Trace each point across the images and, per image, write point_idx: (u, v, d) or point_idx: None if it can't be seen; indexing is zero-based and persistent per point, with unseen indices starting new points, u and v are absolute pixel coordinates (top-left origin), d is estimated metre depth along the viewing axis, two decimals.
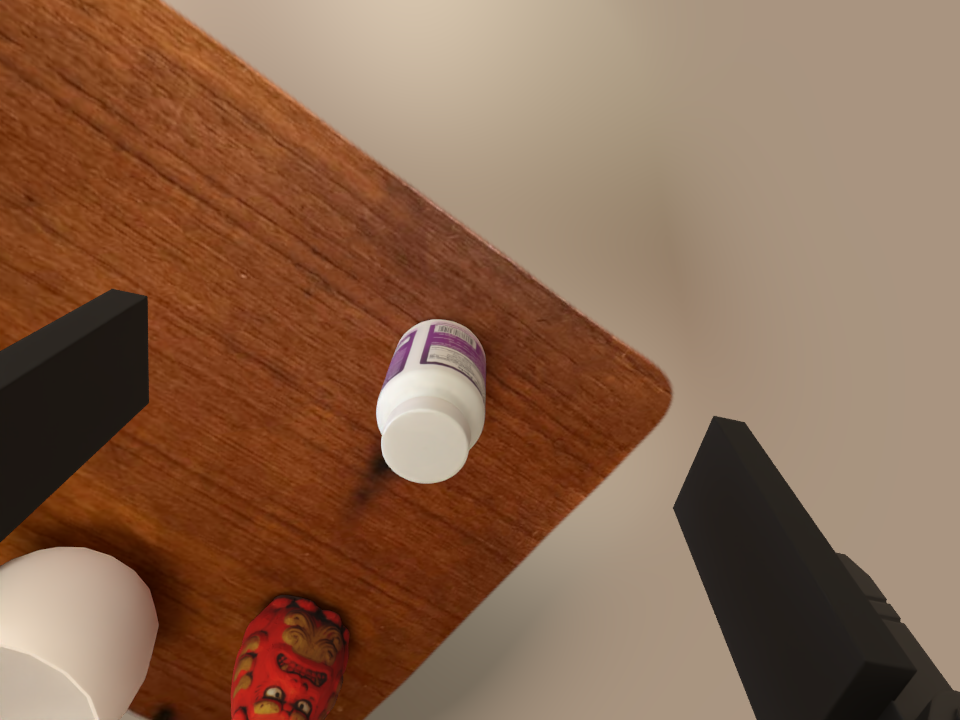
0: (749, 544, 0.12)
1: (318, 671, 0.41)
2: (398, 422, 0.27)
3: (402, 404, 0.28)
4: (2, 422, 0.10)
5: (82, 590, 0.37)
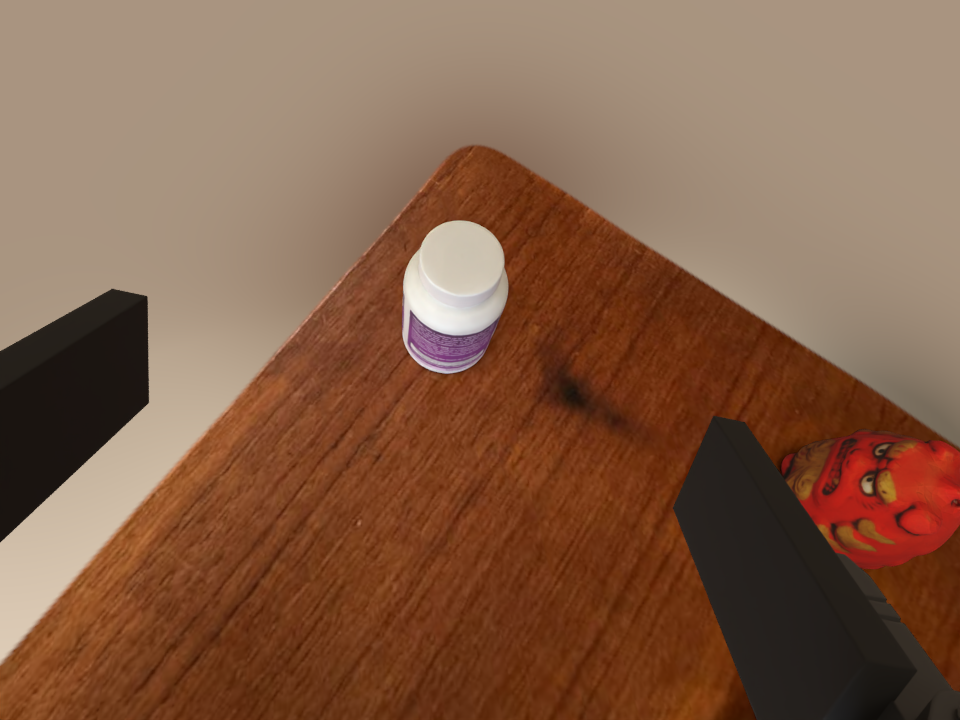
0: (749, 544, 0.12)
1: (840, 446, 0.33)
2: (434, 278, 0.28)
3: (424, 285, 0.29)
4: (2, 422, 0.10)
5: None
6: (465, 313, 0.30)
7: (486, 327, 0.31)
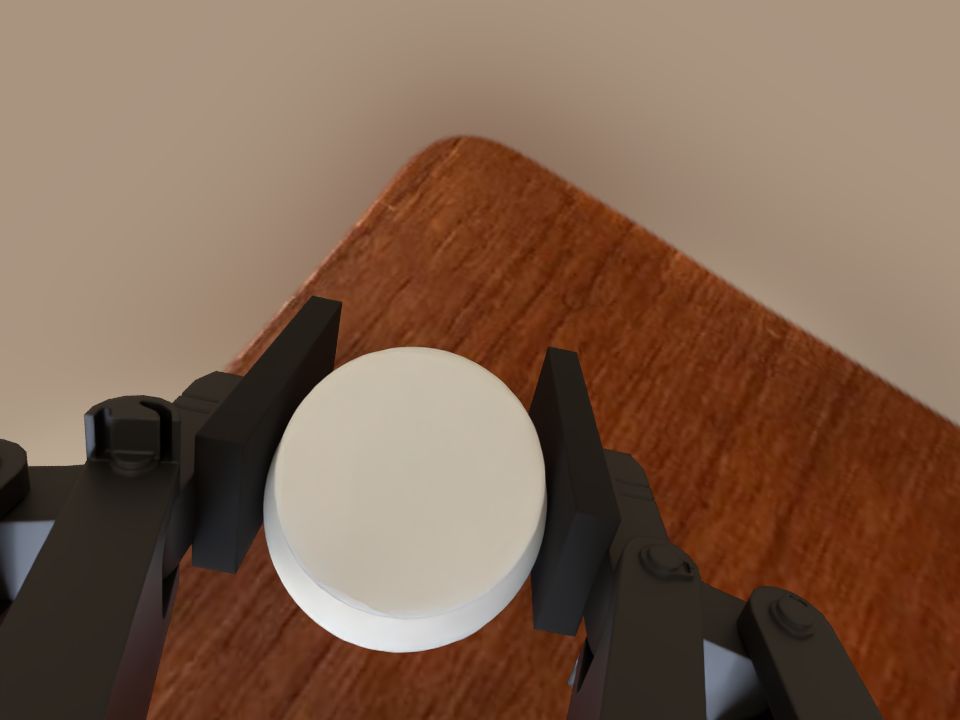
0: (547, 446, 0.13)
1: None
2: (315, 557, 0.08)
3: None
4: (284, 407, 0.12)
5: None
6: None
7: (490, 619, 0.11)
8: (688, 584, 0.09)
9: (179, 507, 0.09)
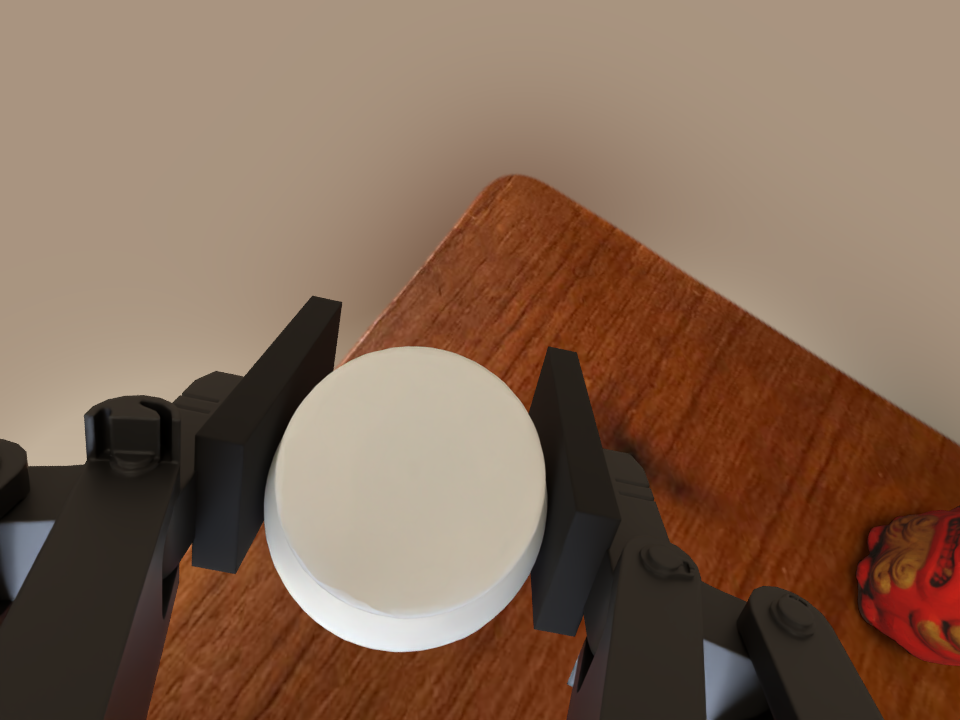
0: (547, 446, 0.13)
1: (947, 528, 0.29)
2: (316, 556, 0.08)
3: None
4: (284, 407, 0.12)
5: None
6: None
7: (490, 619, 0.11)
8: (688, 584, 0.09)
9: (179, 507, 0.09)
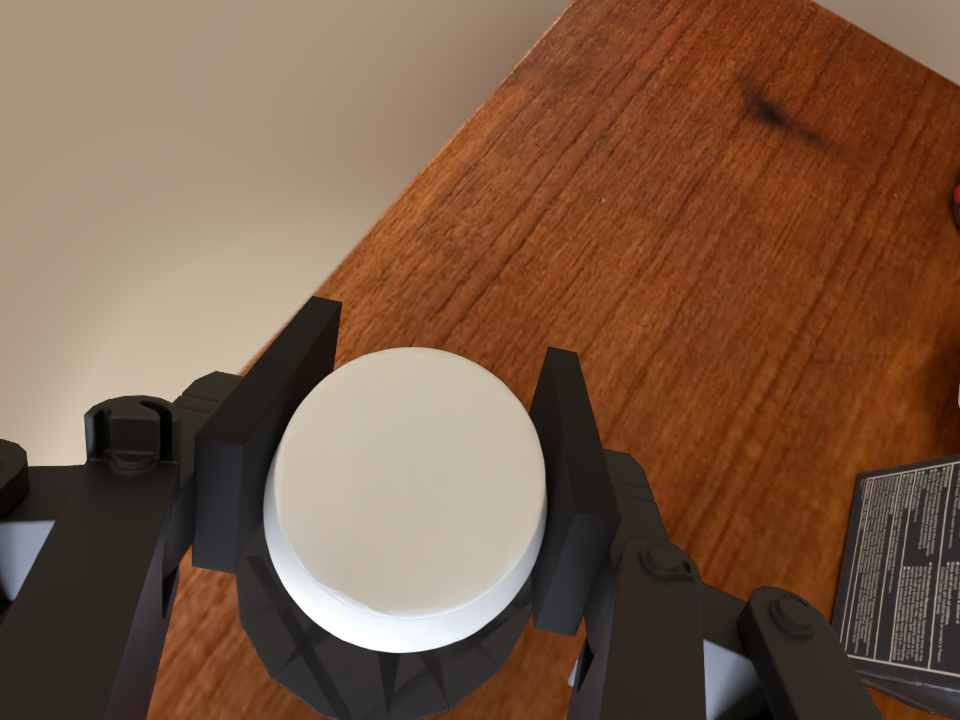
0: (547, 446, 0.13)
1: None
2: (316, 557, 0.08)
3: None
4: (285, 407, 0.12)
5: None
6: None
7: (490, 620, 0.11)
8: (688, 584, 0.09)
9: (179, 507, 0.09)
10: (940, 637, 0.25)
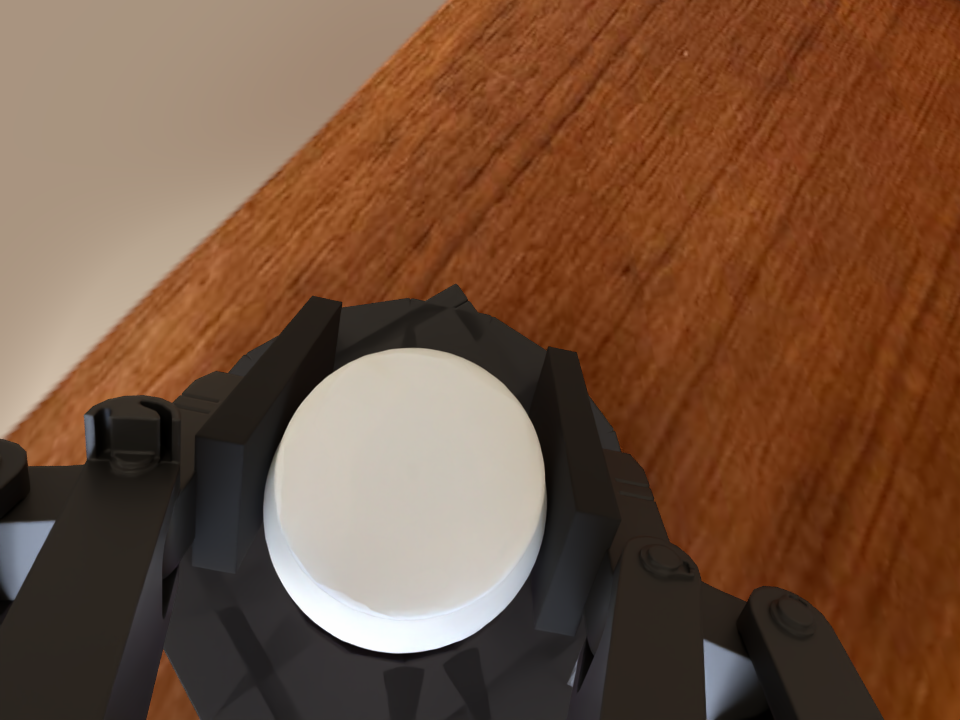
0: (547, 446, 0.13)
1: None
2: (316, 558, 0.08)
3: None
4: (285, 408, 0.12)
5: None
6: None
7: (490, 620, 0.11)
8: (688, 584, 0.09)
9: (179, 507, 0.09)
10: None
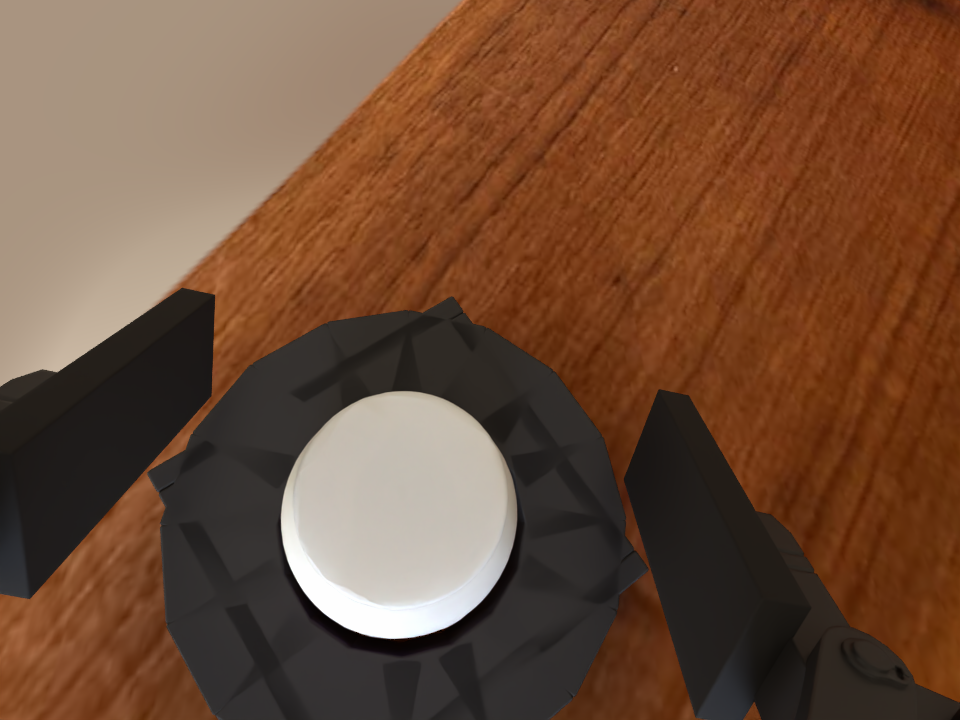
0: (681, 505, 0.12)
1: None
2: (326, 561, 0.11)
3: None
4: (105, 410, 0.10)
5: None
6: None
7: None
8: (900, 692, 0.08)
9: None
10: None
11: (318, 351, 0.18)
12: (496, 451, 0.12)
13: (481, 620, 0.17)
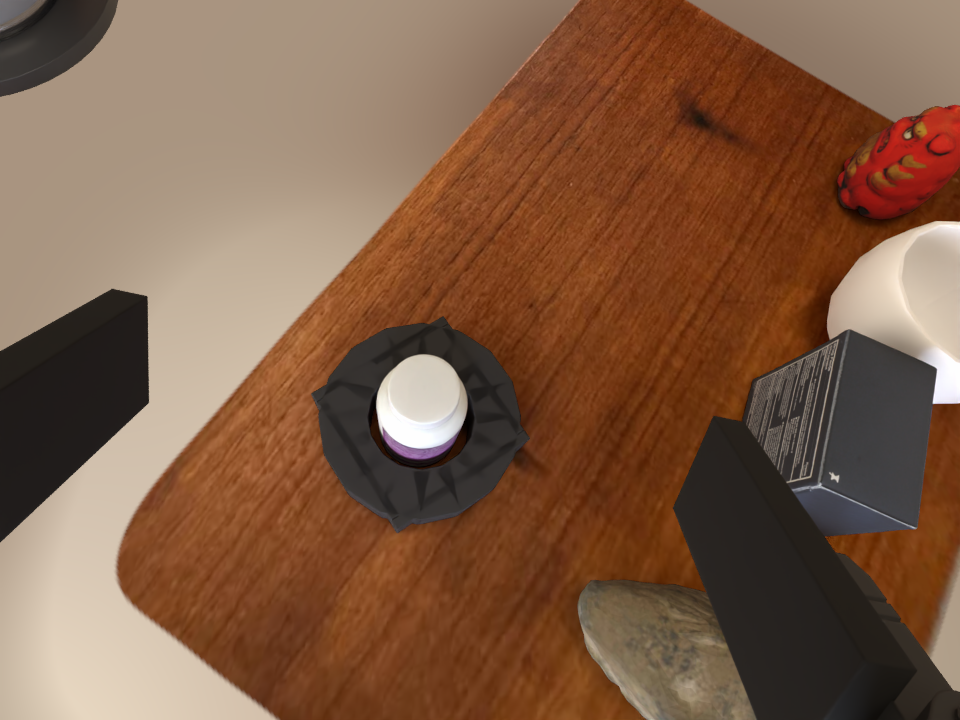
0: (749, 544, 0.12)
1: (887, 128, 0.50)
2: (399, 408, 0.33)
3: (392, 411, 0.34)
4: (2, 422, 0.10)
5: (850, 273, 0.44)
6: (429, 432, 0.34)
7: (448, 440, 0.36)
8: None
9: None
10: (782, 464, 0.38)
11: (382, 342, 0.40)
12: (456, 375, 0.34)
13: (455, 457, 0.39)
